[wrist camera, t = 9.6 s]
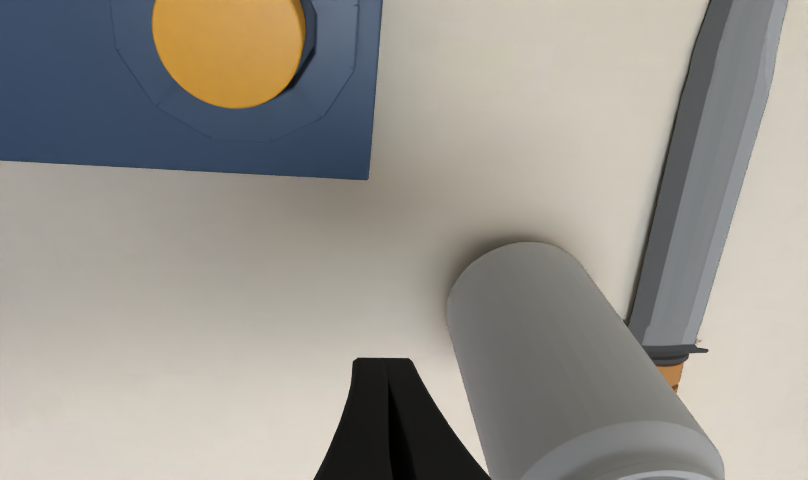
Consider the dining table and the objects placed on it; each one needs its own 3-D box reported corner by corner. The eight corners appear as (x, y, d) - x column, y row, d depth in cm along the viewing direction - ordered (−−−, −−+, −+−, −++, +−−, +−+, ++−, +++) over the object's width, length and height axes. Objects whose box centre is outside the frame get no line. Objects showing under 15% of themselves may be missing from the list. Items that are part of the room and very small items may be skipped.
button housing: (24, 138, 20) (-41, 182, 17) (-50, -216, 16) (-160, -257, 12) (365, 159, 22) (371, 203, 19) (389, -157, 17) (402, -177, 14)
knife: (721, -148, 18) (876, -145, 18) (701, -143, 19) (846, -139, 19) (576, 517, 32) (666, 514, 32) (569, 497, 33) (655, 494, 33)
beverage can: (429, 347, 27) (490, 620, 16) (462, 223, 24) (562, 457, 13) (558, 358, 28) (693, 621, 17) (604, 241, 25) (800, 471, 14)
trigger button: (177, 85, 17) (158, 104, 15) (165, -56, 15) (143, -53, 13) (304, 94, 17) (300, 114, 15) (307, -40, 16) (303, -36, 14)
